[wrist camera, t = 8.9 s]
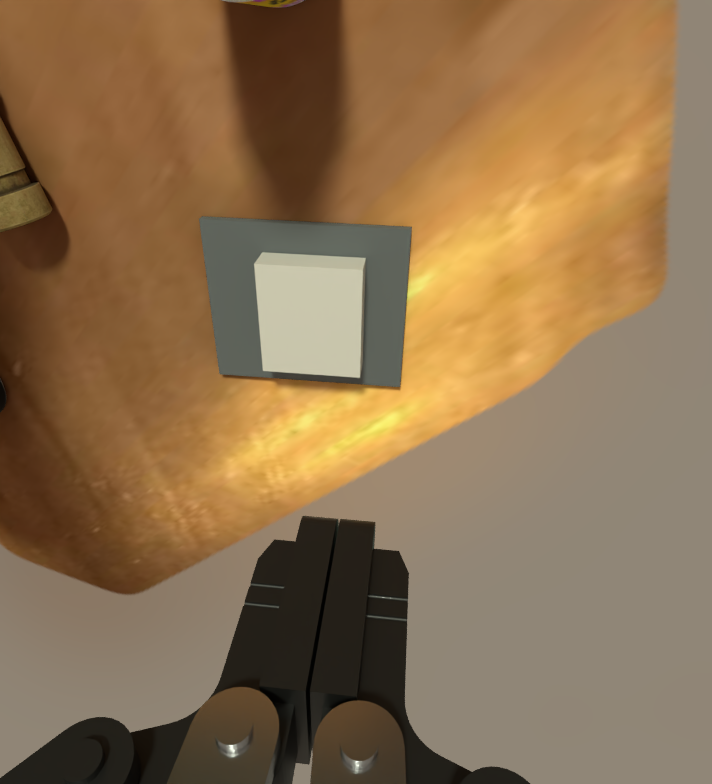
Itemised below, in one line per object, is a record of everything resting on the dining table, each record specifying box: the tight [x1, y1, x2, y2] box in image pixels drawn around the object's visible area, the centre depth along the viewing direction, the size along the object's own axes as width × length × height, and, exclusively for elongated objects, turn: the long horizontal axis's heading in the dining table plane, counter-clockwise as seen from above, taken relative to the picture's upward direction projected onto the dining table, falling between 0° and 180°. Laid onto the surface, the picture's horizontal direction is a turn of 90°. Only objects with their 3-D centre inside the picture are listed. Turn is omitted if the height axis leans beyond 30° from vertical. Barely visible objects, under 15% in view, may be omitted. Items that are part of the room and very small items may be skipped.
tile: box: [254, 252, 366, 378], centre depth 39 cm, size 2×8×7 cm
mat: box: [199, 216, 412, 387], centre depth 41 cm, size 14×12×1 cm
